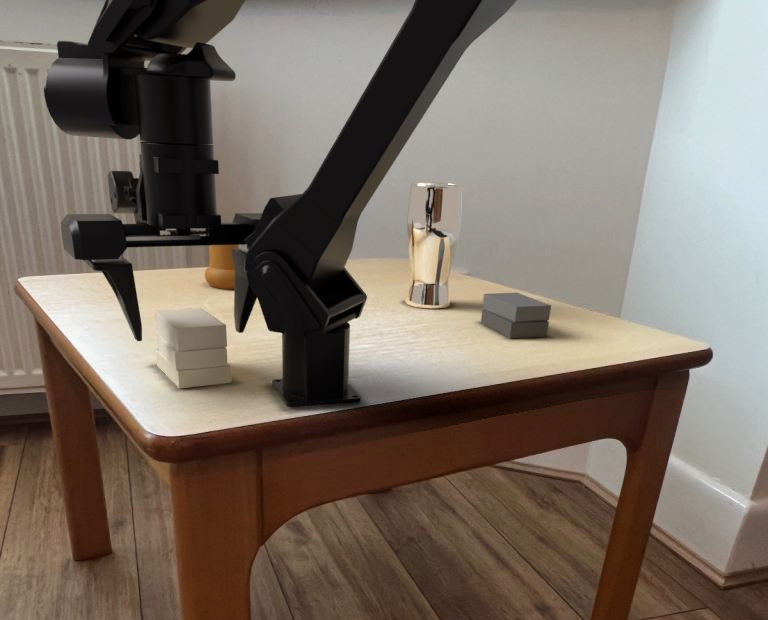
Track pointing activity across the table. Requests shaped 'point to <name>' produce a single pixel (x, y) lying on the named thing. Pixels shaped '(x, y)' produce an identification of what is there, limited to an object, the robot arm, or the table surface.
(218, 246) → the ornamental finial
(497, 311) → the grey books
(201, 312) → the off-white rectangular block
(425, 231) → the beer glass
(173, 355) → the white books
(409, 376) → the table surface
